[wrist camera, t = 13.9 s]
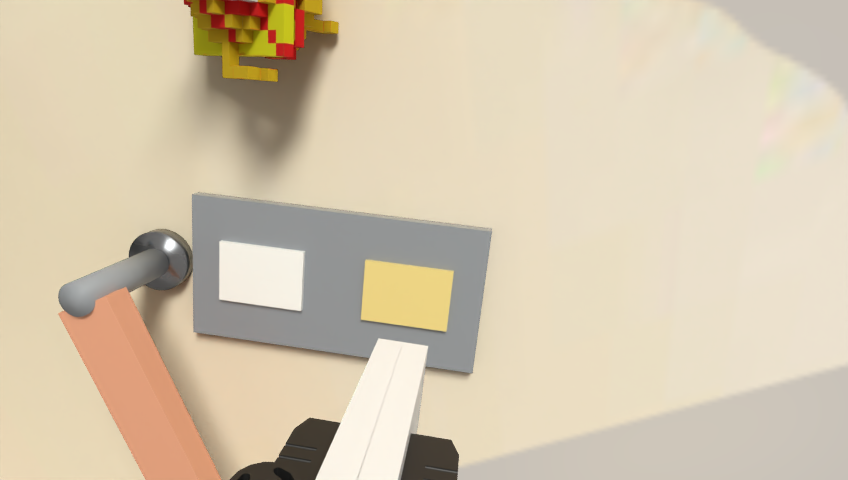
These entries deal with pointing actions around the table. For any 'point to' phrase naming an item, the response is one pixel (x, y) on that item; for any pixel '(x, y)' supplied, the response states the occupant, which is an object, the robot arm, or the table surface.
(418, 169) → the table surface
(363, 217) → the label board
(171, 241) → the pivot pedestal
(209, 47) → the toy
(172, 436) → the swing arm
